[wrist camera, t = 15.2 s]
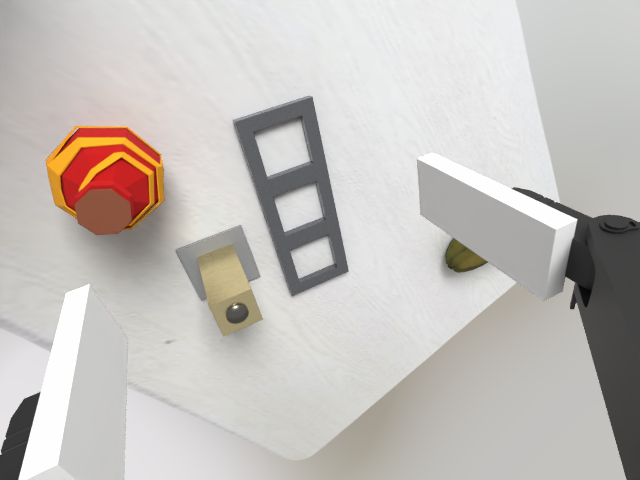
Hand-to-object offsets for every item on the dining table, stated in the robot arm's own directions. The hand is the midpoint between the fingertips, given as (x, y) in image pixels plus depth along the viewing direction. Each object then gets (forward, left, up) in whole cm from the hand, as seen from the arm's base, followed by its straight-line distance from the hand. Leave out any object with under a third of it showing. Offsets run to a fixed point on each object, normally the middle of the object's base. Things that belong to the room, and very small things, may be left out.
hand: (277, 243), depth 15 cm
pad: (-4, -22, -35) cm, 41 cm away
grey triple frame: (+9, -18, -35) cm, 40 cm away
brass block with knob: (-4, -22, -34) cm, 41 cm away
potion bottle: (-10, -4, -35) cm, 37 cm away
